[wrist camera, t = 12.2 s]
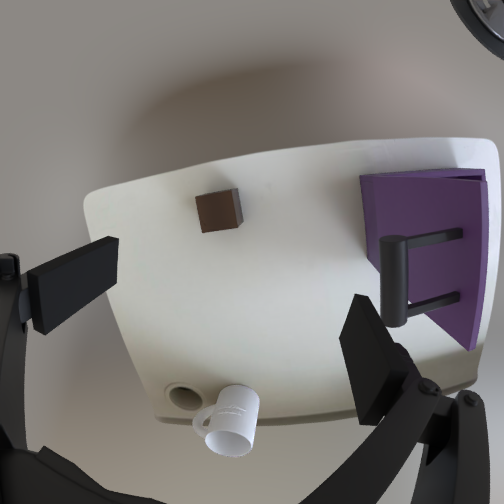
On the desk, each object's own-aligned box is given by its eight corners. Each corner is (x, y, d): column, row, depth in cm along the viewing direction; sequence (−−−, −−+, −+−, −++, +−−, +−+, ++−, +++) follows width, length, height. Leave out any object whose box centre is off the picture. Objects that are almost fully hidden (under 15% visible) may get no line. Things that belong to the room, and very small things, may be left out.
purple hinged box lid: (487, 181, 14) (393, 190, 15) (475, 348, 17) (392, 380, 17) (377, 175, 32) (315, 183, 33) (385, 276, 35) (328, 288, 36)
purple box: (458, 168, 38) (484, 169, 30) (461, 244, 41) (486, 257, 33) (359, 175, 40) (373, 176, 33) (367, 259, 43) (381, 276, 36)
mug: (194, 385, 54) (175, 428, 42) (254, 381, 51) (245, 427, 40) (207, 414, 55) (192, 456, 44) (263, 411, 53) (257, 456, 42)
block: (237, 188, 43) (231, 190, 38) (243, 221, 44) (238, 227, 39) (205, 193, 44) (194, 196, 39) (211, 226, 45) (201, 233, 40)
